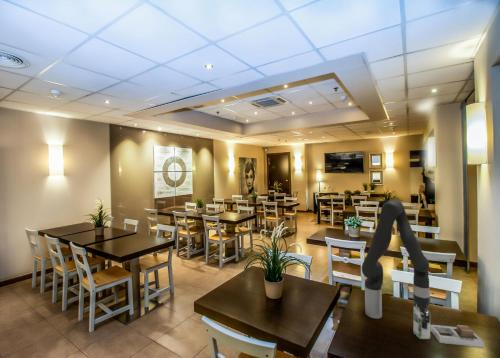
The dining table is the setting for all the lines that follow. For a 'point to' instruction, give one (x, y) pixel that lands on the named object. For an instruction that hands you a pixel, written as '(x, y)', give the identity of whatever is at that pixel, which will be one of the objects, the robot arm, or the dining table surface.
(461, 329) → the walnut block
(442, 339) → the white compartment tray
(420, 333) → the syrup box
